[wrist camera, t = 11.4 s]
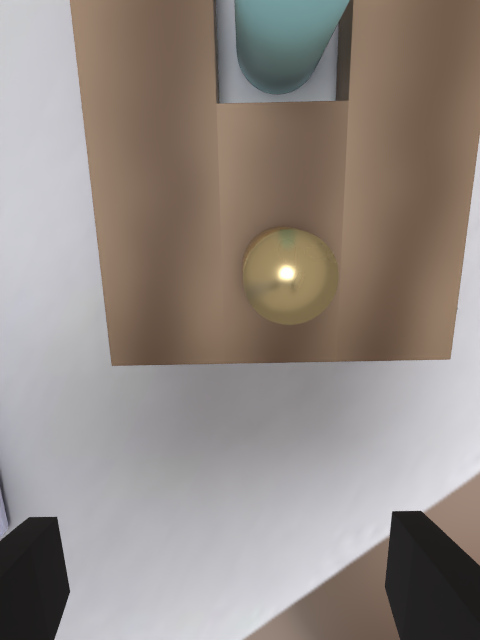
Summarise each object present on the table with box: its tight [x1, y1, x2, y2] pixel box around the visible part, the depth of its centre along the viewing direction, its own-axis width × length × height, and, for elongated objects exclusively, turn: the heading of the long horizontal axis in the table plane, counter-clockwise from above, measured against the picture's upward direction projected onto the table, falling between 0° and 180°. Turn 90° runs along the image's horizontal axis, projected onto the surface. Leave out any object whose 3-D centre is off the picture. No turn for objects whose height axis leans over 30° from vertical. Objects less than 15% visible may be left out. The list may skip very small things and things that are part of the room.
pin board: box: [70, 0, 480, 366], centre depth 13 cm, size 14×18×5 cm
